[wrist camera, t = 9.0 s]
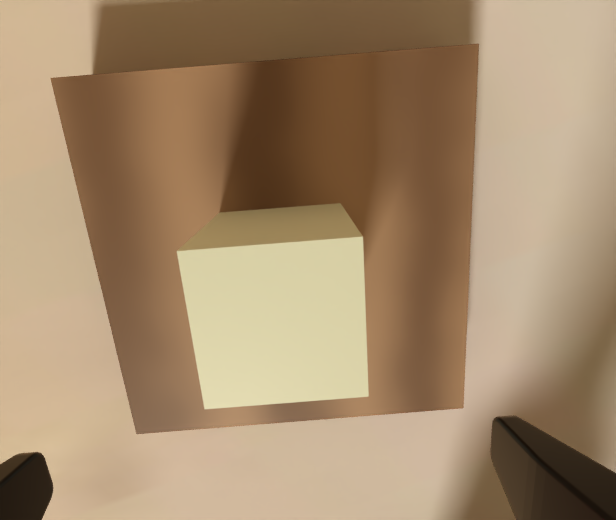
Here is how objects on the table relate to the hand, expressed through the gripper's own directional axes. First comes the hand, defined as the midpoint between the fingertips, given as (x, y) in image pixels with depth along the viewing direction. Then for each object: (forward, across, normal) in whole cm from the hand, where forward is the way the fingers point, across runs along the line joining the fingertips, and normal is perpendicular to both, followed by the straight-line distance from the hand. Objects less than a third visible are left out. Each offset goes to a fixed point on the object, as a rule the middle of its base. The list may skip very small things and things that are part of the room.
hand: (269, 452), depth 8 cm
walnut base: (+13, 0, -1) cm, 13 cm away
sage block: (+10, 0, -1) cm, 10 cm away
